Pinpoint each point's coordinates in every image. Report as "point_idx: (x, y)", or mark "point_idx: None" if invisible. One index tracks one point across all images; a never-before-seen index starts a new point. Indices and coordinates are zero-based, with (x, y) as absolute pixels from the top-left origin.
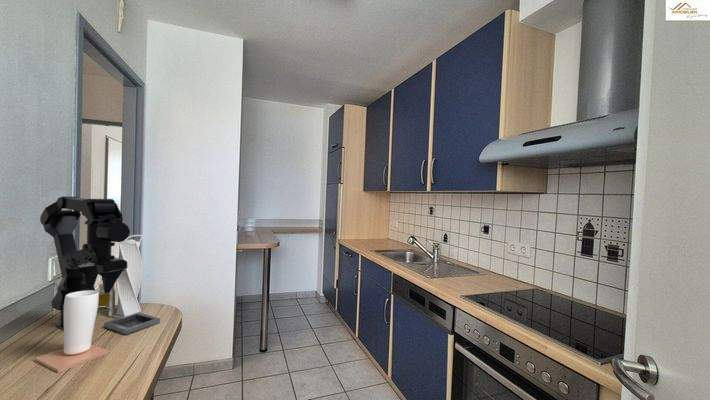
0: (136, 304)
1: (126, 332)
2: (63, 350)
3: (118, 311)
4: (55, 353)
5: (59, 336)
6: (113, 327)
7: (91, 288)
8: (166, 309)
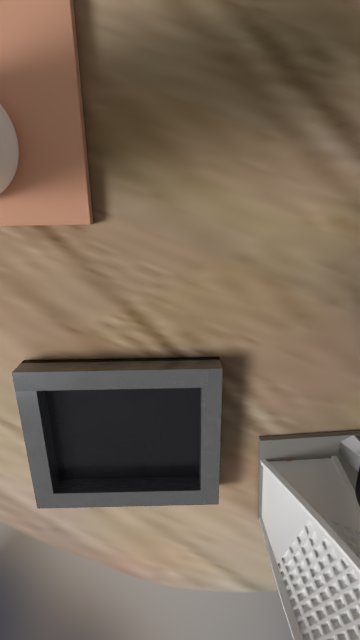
0: (271, 542)
1: (17, 367)
2: (45, 112)
3: (331, 472)
4: (39, 71)
5: (312, 203)
6: (131, 366)
7: (357, 485)
8: (191, 573)
